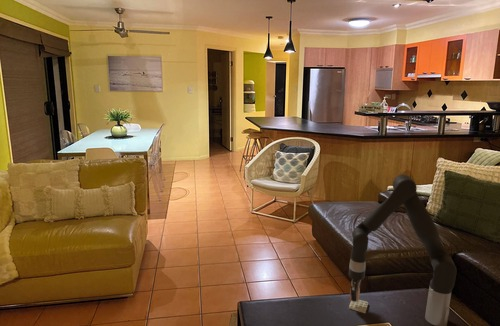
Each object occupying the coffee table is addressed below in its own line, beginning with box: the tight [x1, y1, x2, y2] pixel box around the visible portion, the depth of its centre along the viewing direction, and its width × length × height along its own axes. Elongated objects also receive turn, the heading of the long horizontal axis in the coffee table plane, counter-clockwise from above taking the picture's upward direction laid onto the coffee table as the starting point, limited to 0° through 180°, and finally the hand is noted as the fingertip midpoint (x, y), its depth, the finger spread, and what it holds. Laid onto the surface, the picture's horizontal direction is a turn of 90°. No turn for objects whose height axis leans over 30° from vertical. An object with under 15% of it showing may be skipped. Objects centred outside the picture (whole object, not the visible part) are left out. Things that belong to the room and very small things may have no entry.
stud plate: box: [348, 299, 369, 314], centre depth 182 cm, size 8×8×2 cm
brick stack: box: [348, 286, 361, 302], centre depth 179 cm, size 4×4×6 cm
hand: (354, 298), depth 180 cm, fingers closed on brick stack, 4 cm apart
